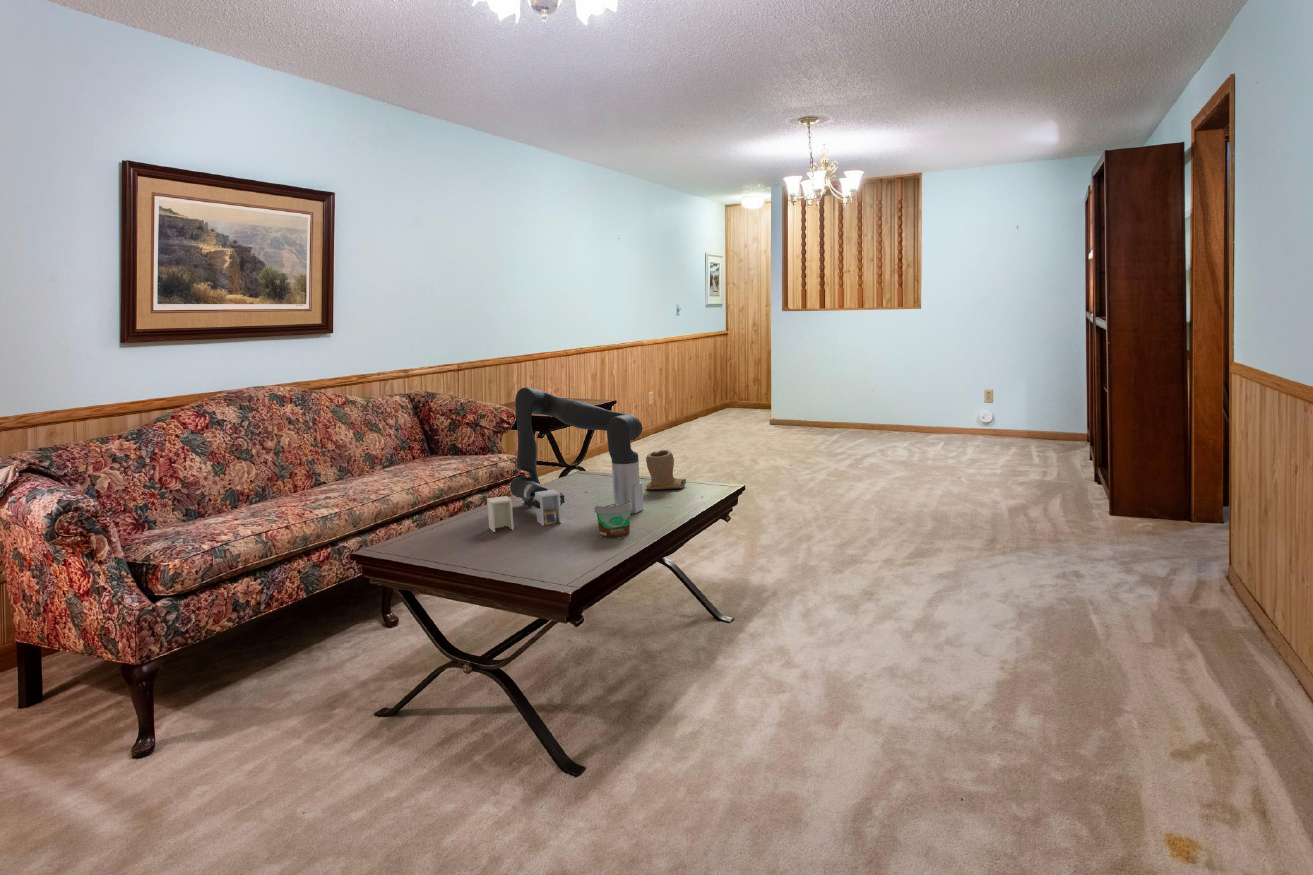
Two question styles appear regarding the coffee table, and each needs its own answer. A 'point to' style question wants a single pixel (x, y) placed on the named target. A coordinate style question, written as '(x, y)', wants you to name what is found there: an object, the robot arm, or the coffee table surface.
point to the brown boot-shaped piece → (662, 471)
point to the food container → (614, 520)
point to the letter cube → (549, 516)
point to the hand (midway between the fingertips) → (549, 504)
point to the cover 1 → (500, 512)
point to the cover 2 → (548, 504)
